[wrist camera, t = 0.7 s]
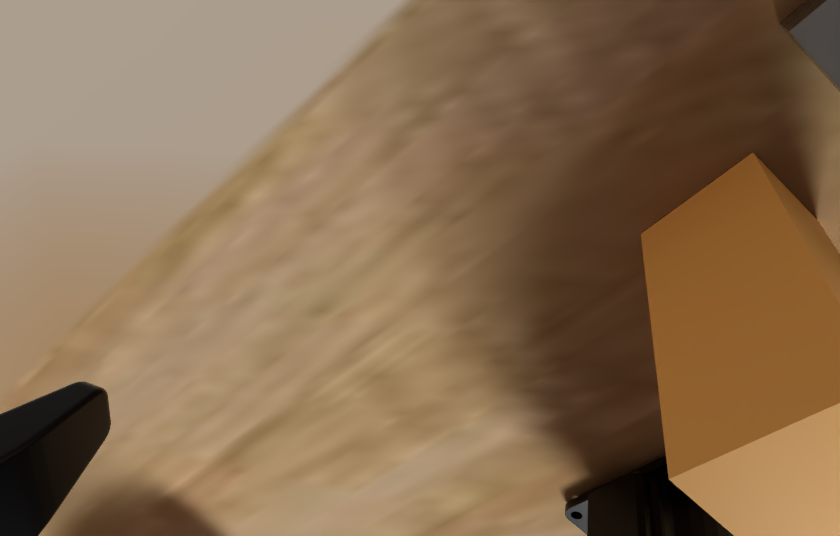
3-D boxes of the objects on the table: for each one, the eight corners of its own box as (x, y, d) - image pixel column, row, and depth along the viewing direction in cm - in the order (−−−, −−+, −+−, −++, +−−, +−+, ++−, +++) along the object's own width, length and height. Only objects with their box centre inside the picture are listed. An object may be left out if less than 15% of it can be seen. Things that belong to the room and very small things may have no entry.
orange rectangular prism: (817, 219, 18) (994, 492, 10) (701, 292, 20) (768, 565, 12) (752, 152, 18) (885, 382, 9) (640, 234, 20) (668, 479, 12)
